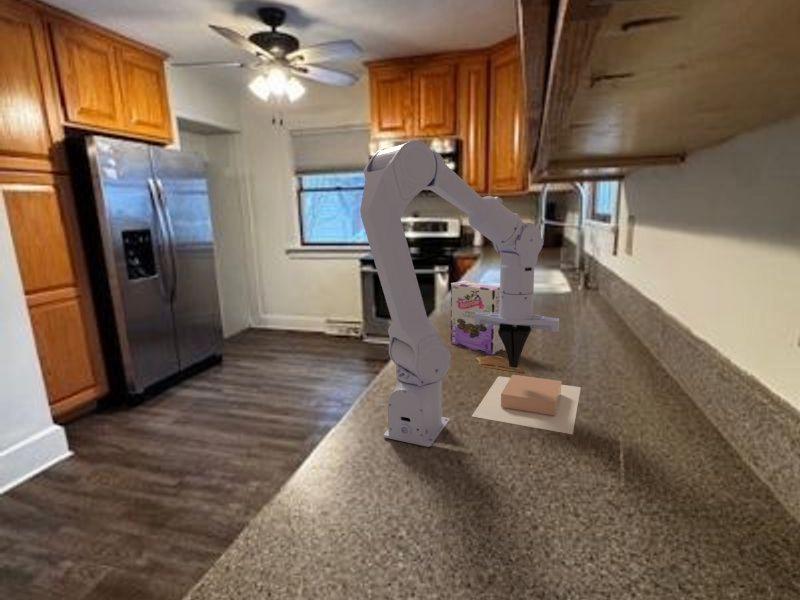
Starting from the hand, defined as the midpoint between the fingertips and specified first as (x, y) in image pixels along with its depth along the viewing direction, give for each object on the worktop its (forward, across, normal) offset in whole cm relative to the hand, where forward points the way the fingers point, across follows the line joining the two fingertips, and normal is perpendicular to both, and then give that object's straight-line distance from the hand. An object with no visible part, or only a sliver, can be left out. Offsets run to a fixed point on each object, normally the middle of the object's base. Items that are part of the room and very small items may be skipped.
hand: (514, 365), depth 81 cm
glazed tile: (+5, +1, 0) cm, 5 cm away
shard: (+8, +6, -18) cm, 21 cm away
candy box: (+7, +15, -30) cm, 34 cm away
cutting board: (+7, -3, 0) cm, 8 cm away
